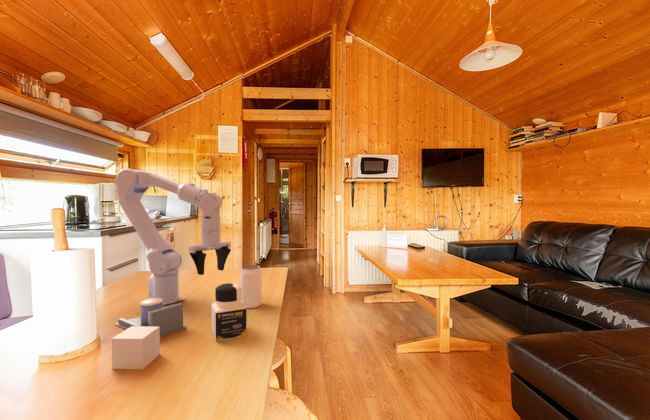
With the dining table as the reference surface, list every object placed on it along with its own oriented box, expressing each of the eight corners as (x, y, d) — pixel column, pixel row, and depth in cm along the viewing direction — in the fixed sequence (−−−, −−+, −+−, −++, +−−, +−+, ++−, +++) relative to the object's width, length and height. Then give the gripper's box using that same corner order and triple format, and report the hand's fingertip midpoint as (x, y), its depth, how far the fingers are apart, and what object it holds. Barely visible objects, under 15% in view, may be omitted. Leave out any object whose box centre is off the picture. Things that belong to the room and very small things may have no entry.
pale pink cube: (131, 354, 66) (131, 326, 66) (159, 354, 66) (159, 326, 66) (111, 369, 60) (111, 338, 60) (142, 369, 60) (142, 338, 60)
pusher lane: (115, 324, 82) (114, 300, 82) (150, 314, 89) (149, 292, 89) (150, 340, 73) (150, 313, 72) (186, 327, 80) (186, 303, 80)
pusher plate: (148, 328, 77) (148, 311, 77) (165, 323, 81) (165, 306, 81) (150, 329, 77) (150, 312, 77) (168, 324, 80) (167, 307, 80)
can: (256, 309, 94) (256, 269, 94) (236, 308, 95) (236, 268, 95) (264, 302, 100) (264, 265, 100) (246, 301, 101) (246, 264, 101)
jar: (135, 327, 79) (135, 302, 79) (155, 320, 84) (154, 296, 84) (148, 331, 77) (148, 305, 77) (167, 324, 82) (167, 299, 81)
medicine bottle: (215, 342, 72) (215, 290, 71) (211, 331, 78) (211, 283, 78) (246, 336, 75) (246, 286, 75) (240, 326, 81) (240, 280, 81)
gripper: (198, 232, 93) (199, 278, 93) (236, 229, 105) (236, 269, 106) (184, 231, 97) (184, 275, 97) (222, 228, 109) (223, 267, 109)
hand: (211, 272), depth 102 cm, fingers open, 7 cm apart
